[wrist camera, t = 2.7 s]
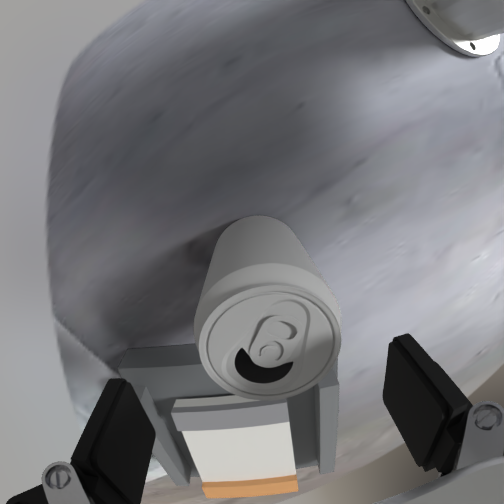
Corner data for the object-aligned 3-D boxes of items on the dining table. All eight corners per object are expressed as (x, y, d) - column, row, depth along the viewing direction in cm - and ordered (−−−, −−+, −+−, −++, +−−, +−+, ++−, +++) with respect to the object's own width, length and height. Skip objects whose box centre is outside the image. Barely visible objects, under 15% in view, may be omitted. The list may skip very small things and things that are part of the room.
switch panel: (127, 348, 25) (107, 387, 20) (328, 323, 25) (346, 363, 19) (183, 458, 30) (178, 492, 25) (328, 443, 30) (337, 478, 25)
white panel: (176, 399, 22) (170, 412, 21) (284, 388, 22) (286, 402, 20) (209, 484, 24) (206, 498, 22) (296, 477, 24) (298, 490, 22)
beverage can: (203, 279, 23) (172, 386, 12) (231, 200, 21) (218, 251, 10) (280, 304, 24) (307, 418, 12) (313, 230, 22) (379, 306, 11)
